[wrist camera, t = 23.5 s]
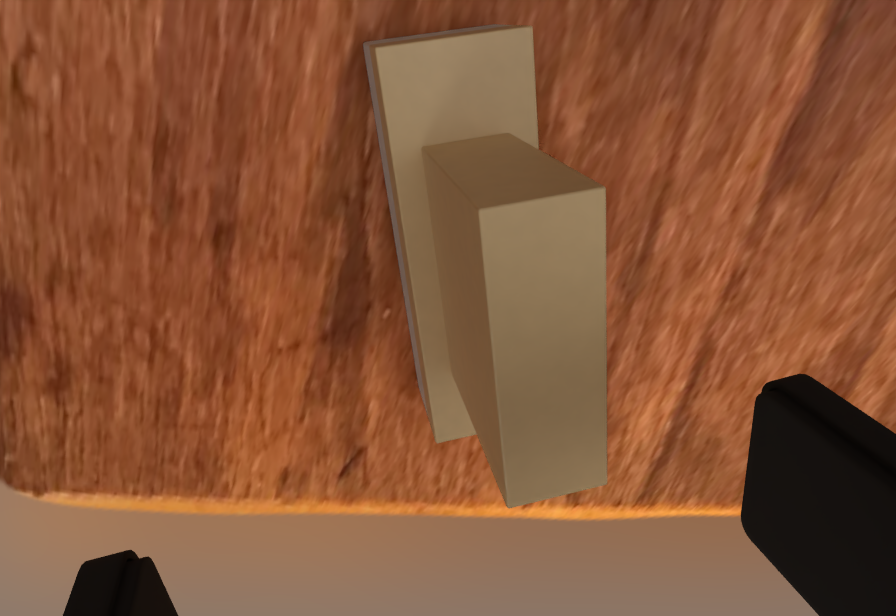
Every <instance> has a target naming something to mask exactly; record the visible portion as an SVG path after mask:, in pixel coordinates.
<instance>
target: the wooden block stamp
mask: <svg viewBox="0 0 896 616" xmlns="http://www.w3.org/2000/svg"><path fill="white" fill-rule="evenodd" d="M363 48H364V54H365V60H366V67H367V73H368V79H369V85H370V91H371V97H372V103H373V110H374V116H375V122H376V128H377V134H378V140H379V147H380V153H381V159H382V165H383V171H384V177H385V183H386V190H387V196H388V202H389V208H390V214H391V220H392V226H393V233H394V239H395V245H396V251H397V257H398V263H399V269H400V276H401V282H402V288H403V294H404V300H405V306H406V312H407V319H408V325H409V331H410V337H411V343H412V349H413V356H414V362H415V368H416V374H417V380H418V386H419V390H420V393H421V396H422V400H423V403H424V406H425V409H426V412H427V415H428V419H429V422H430V425H431V429H432V432H433V435H434V438H435V442H436V443H440V442H445V441H449V440H454V439H458V438H462V437H467V436H471V435H476V434H477V436H478V438H479V441H480V443H481V446H482V448H483V450H484V453H485V455H486V458H487V460H488V463H489V465H490V467H491V470H492V472H493V475H494V477H495V479H496V482H497V484H498V487H499V489H500V491H501V494H502V496H503V499H504V501H505V503H506V506H507V507H508V508H512V507H516V506H520V505H524V504H529V503H533V502H537V501H541V500H545V499H549V498H553V497H557V496H561V495H565V494H569V493H573V492H577V491H582V490H586V489H590V488H594V487H598V486H602V485H606V484H607V343H606V188H605V187H604V186H603V185H601V184H599V183H597V182H595V181H594V180H592V179H590V178H588V177H587V176H585V175H583V174H581V173H579V172H578V171H576V170H574V169H572V168H571V167H569V166H567V165H565V164H563V163H562V162H560V161H558V160H556V159H555V158H553V157H551V156H549V155H547V154H546V153H544V152H542V151H540V150H539V143H538V124H537V104H536V85H535V65H534V46H533V28H532V26H527V25H497V24H493V25H485V26H478V27H471V28H463V29H456V30H449V31H441V32H434V33H427V34H419V35H412V36H405V37H397V38H390V39H383V40H375V41H368V42H364V43H363Z"/></svg>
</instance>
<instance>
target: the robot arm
mask: <svg viewBox="0 0 896 616" xmlns="http://www.w3.org/2000/svg"><path fill="white" fill-rule="evenodd" d="M741 521H742V525H743V528H744V530H745V532H746V534H747V536H748V537H749V538H750V540H751V541H752V542H753V543H754V544H755V545H756V546H757V548H758V549H759V550H760V551H761V552H762V553H763V554H764V555H765V556H766V557H767V558H768V560H769V561H770V562H771V563H772V564H773V565H774V566H775V567H776V568H777V570H778V571H779V572H780V573H781V574H782V575H783V576H784V577H785V578H786V580H787V581H788V582H789V583H790V584H791V585H792V586H793V587H794V588H795V589H796V591H797V592H798V593H799V594H800V595H801V596H802V597H803V598H804V599H805V600H806V602H807V603H808V604H809V605H810V606H811V607H812V608H813V609H814V610H815V612H816V613H817V614H818V615H819V616H896V434H895V433H893V432H892V431H890V430H889V429H888V428H886V427H885V426H883V425H882V424H880V423H879V422H877V421H876V420H874V419H873V418H871V417H870V416H868V415H867V414H865V413H864V412H862V411H861V410H859V409H858V408H856V407H855V406H853V405H852V404H851V403H849V402H848V401H846V400H845V399H843V398H842V397H840V396H839V395H837V394H836V393H834V392H833V391H831V390H830V389H828V388H827V387H825V386H824V385H822V384H821V383H819V382H818V381H816V380H815V379H813V378H812V377H810V376H808V375H806V374H797V375H793V376H789V377H785V378H782V379H778V380H774V381H770V382H768V383H766V384H765V385H764V387H763V389H762V392H761V394H759V395H758V396H757V397H756V401H755V407H754V415H753V423H752V431H751V439H750V447H749V455H748V463H747V471H746V479H745V486H744V494H743V502H742V510H741ZM63 616H178V614H177V612H176V610H175V608H174V606H173V603H172V601H171V599H170V597H169V595H168V593H167V591H166V588H165V586H164V584H163V582H162V580H161V577H160V575H159V573H158V571H157V569H156V567H155V565H154V563H153V561H152V559H151V558H150V557H143V558H140V559H139V558H138V556H137V555H136V553H135V552H133V551H132V550H127V551H124V552H119V553H116V554H112V555H108V556H105V557H101V558H96V559H93V560H89V561H86V562H85V563H84V564H82V566H81V568H80V570H79V572H78V574H77V577H76V580H75V583H74V586H73V588H72V591H71V594H70V597H69V600H68V603H67V605H66V608H65V611H64V614H63Z"/></svg>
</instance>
